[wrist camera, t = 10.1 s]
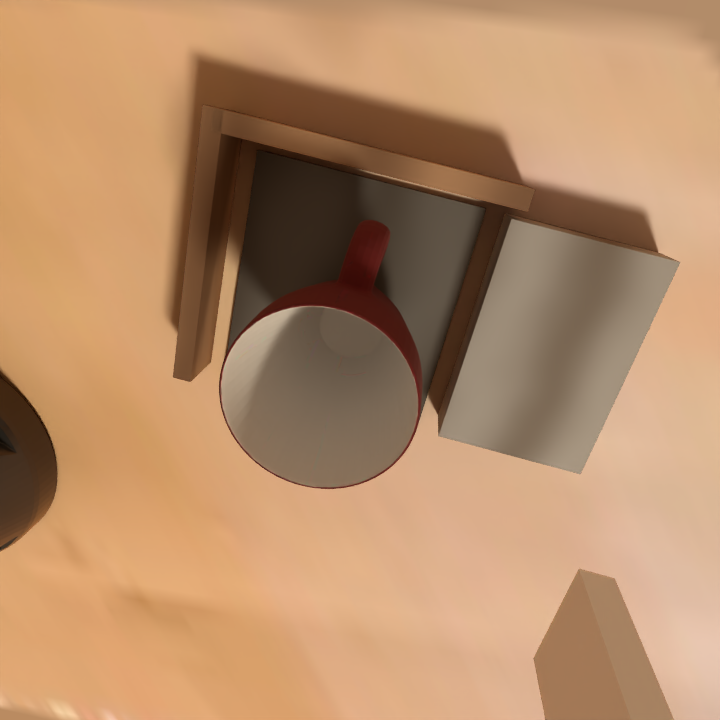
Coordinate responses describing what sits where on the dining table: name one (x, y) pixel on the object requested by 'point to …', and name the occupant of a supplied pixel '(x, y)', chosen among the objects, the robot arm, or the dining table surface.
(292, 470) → the mug
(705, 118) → the dining table surface
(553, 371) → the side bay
